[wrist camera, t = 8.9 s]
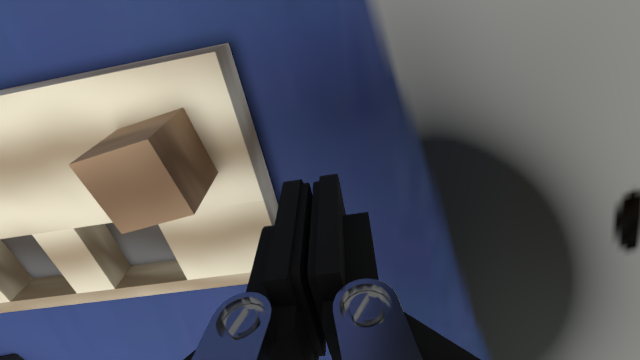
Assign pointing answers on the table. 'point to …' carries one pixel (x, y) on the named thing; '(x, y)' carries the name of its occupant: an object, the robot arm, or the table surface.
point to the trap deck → (87, 215)
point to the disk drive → (11, 357)
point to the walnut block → (148, 172)
